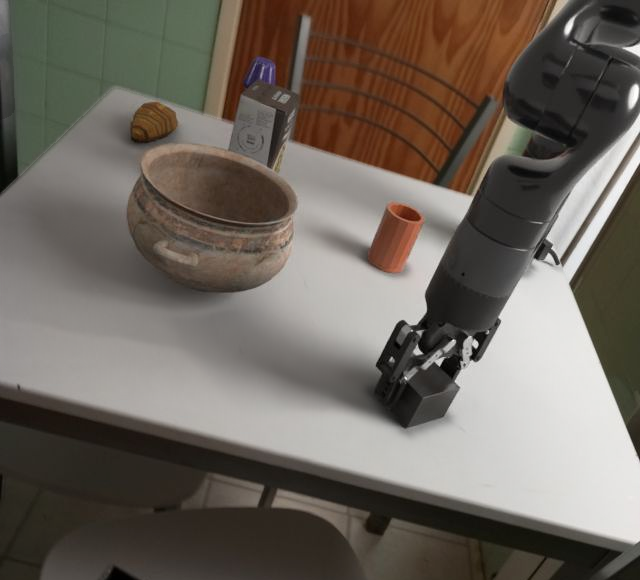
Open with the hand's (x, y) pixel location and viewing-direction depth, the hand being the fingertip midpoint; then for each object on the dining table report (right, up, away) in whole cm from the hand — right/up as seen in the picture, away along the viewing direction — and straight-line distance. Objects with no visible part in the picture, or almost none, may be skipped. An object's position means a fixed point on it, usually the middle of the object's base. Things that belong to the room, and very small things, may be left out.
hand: (413, 395), depth 75 cm
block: (0, -1, +1) cm, 2 cm away
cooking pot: (-25, +15, +7) cm, 30 cm away
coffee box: (-21, +28, +23) cm, 42 cm away
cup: (-1, +21, +24) cm, 32 cm away
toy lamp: (-23, +36, +31) cm, 53 cm away
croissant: (-36, +42, +32) cm, 64 cm away
